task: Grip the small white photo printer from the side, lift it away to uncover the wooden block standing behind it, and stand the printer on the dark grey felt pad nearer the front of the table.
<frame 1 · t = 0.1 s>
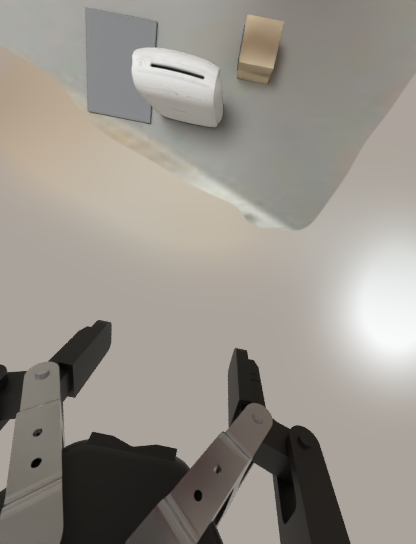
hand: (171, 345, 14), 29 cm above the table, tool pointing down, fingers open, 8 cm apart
felt pad: (120, 70, 32), on the table
wooden block: (255, 61, 31), on the table
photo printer: (190, 109, 34), on the table
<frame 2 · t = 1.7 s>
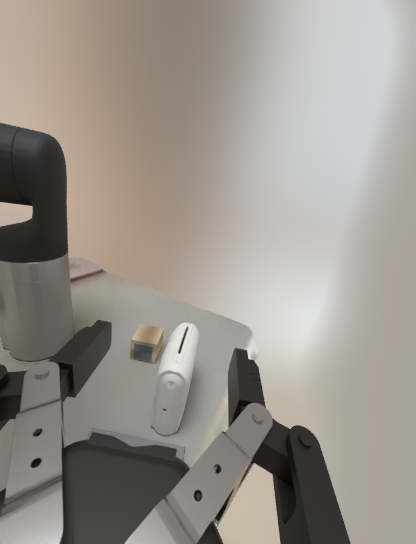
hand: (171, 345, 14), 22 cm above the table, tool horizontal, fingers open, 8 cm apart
felt pad: (120, 490, 23), on the table
wooden block: (146, 352, 41), on the table
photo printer: (172, 402, 33), on the table
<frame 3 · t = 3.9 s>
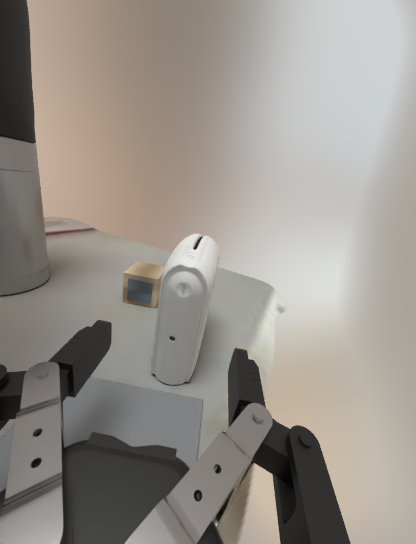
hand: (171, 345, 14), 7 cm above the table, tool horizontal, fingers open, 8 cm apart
felt pad: (99, 458, 13), on the table
wooden block: (144, 297, 32), on the table
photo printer: (180, 348, 24), on the table
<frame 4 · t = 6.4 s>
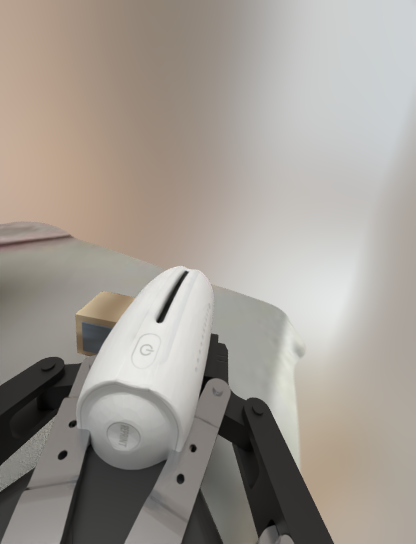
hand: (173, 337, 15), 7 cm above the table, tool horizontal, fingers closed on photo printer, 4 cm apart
wooden block: (112, 342, 23), on the table
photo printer: (152, 446, 15), on the table, touching gripper
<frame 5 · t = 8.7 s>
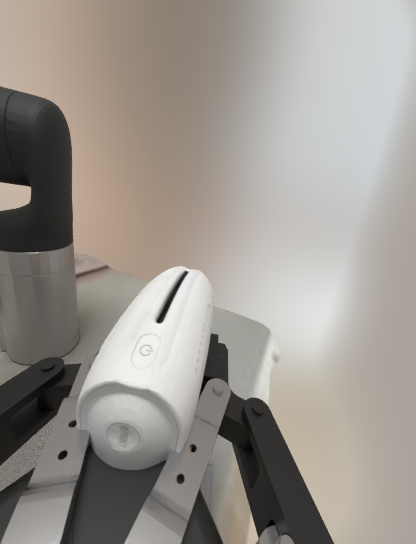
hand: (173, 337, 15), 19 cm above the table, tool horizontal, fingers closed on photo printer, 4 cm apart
felt pad: (141, 521, 19), on the table
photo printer: (152, 447, 15), point 11 cm above the table, touching gripper
when the fingers open (8 cm above the table, at t = 11.0 s): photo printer stays where it is, resting on felt pad.
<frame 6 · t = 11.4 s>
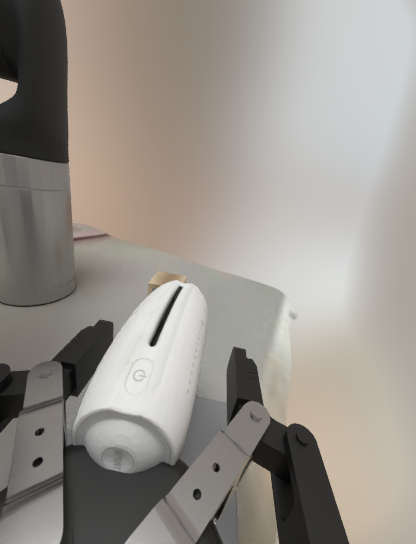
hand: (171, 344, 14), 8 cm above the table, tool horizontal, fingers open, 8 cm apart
felt pad: (150, 457, 15), on the table
wooden block: (165, 305, 33), on the table
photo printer: (148, 457, 15), resting on felt pad
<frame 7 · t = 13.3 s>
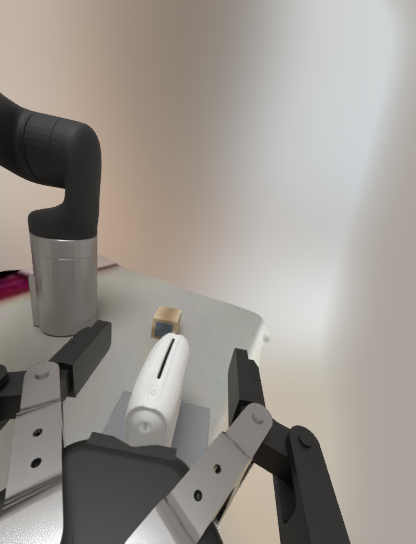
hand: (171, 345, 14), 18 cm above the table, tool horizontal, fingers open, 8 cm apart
felt pad: (155, 440, 25), on the table
wooden block: (165, 332, 44), on the table
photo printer: (154, 439, 25), resting on felt pad
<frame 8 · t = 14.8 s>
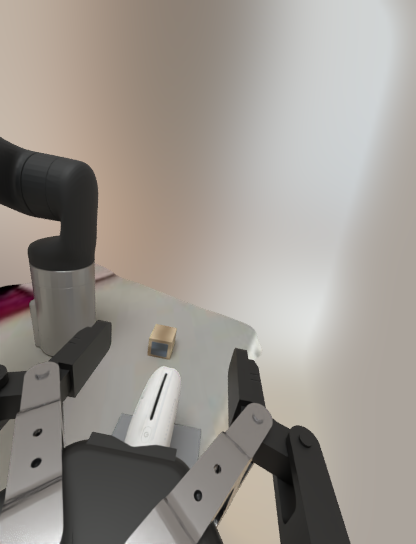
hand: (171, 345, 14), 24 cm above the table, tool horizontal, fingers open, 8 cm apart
felt pad: (150, 462, 28), on the table
wooden block: (161, 349, 46), on the table
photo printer: (149, 462, 27), resting on felt pad
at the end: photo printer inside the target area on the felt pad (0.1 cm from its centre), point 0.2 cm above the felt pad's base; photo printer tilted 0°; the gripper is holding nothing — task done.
